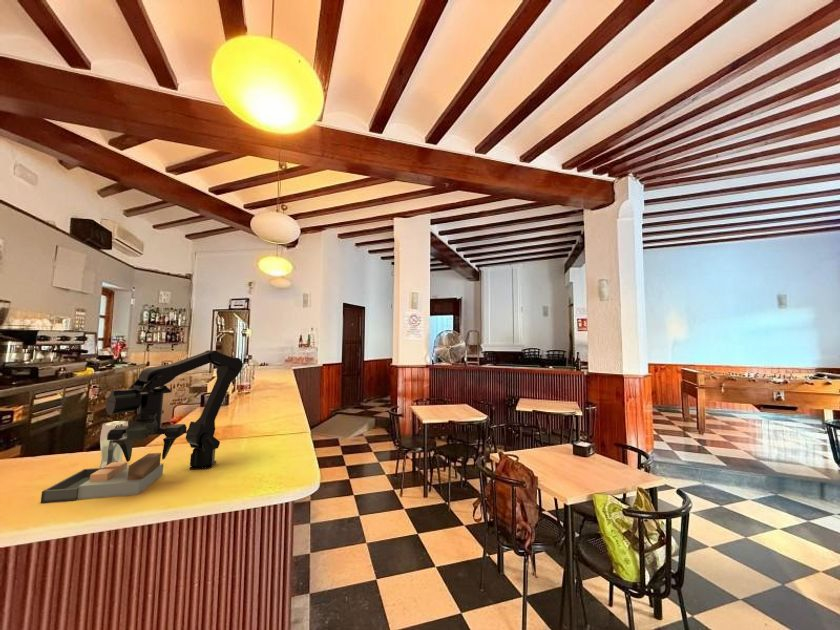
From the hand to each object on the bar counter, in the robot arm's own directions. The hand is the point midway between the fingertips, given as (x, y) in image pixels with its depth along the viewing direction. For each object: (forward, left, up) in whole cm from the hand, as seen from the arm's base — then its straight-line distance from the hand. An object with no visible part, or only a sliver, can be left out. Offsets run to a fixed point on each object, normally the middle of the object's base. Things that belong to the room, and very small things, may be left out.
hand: (146, 460), depth 102 cm
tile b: (+9, +3, -4) cm, 10 cm away
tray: (+16, 0, -7) cm, 17 cm away
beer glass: (+17, -17, -7) cm, 25 cm away
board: (+5, 0, -7) cm, 9 cm away
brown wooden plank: (0, 0, -4) cm, 4 cm away
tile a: (+9, -3, -4) cm, 10 cm away
